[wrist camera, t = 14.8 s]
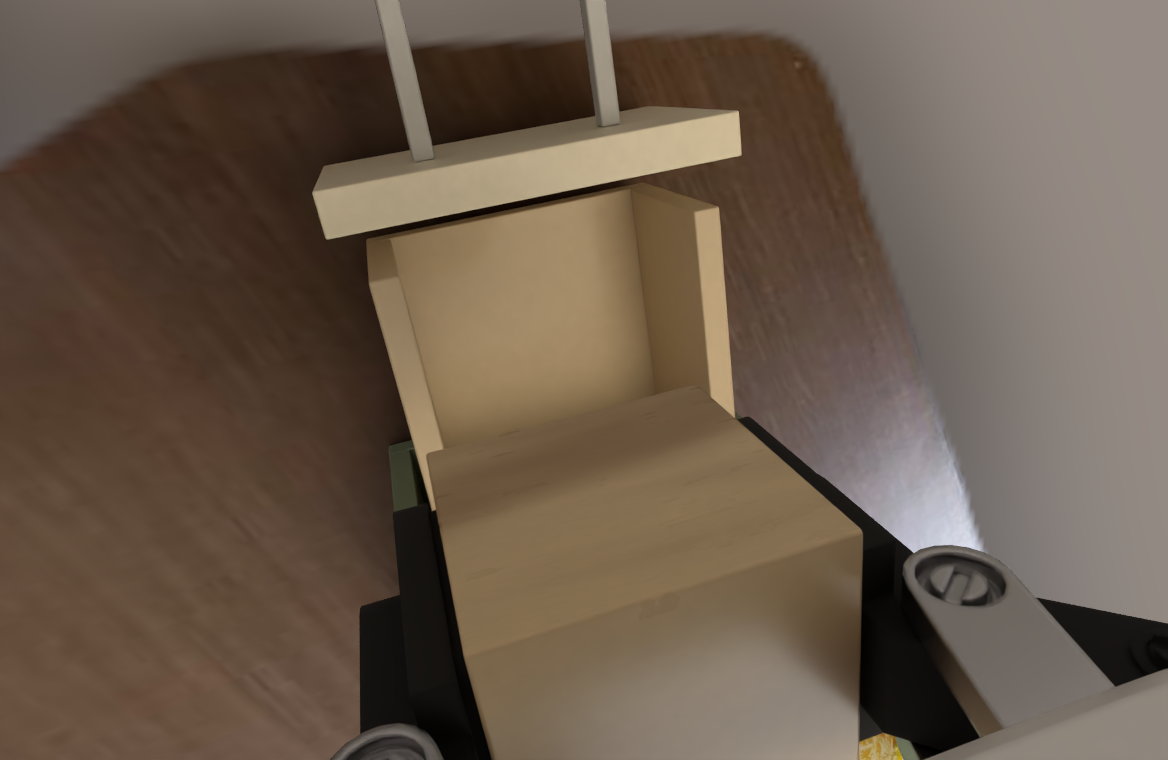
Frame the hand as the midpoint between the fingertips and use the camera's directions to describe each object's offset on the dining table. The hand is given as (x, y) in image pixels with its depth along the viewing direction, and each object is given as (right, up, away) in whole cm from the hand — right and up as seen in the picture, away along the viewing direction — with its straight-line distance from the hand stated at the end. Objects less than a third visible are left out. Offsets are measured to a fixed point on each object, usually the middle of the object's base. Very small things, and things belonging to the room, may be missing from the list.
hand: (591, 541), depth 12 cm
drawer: (-3, +8, +14) cm, 16 cm away
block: (0, 0, 0) cm, 0 cm away
